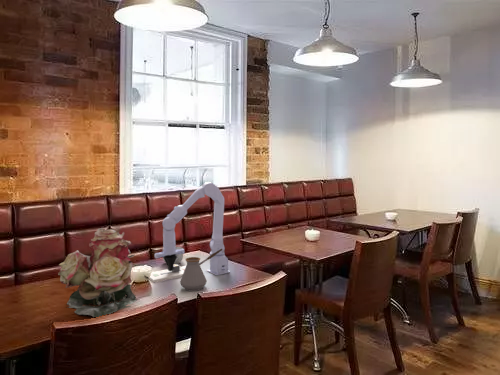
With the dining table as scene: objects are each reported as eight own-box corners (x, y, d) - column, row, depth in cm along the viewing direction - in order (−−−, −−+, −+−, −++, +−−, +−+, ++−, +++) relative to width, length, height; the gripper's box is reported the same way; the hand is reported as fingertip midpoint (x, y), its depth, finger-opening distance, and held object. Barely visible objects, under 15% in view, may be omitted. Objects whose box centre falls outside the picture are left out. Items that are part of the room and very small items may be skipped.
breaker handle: (179, 271, 197) (179, 265, 197) (174, 272, 196) (173, 266, 195) (177, 269, 200) (176, 264, 200) (171, 270, 198) (171, 265, 198)
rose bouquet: (52, 306, 158) (48, 230, 155) (122, 288, 179) (119, 220, 176) (80, 326, 140) (75, 240, 137) (154, 303, 161) (151, 227, 158)
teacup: (160, 261, 220) (160, 247, 219) (180, 259, 224) (180, 244, 224) (167, 268, 207) (166, 252, 206) (187, 265, 212) (187, 250, 211)
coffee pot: (188, 294, 169) (187, 259, 168) (175, 287, 179) (174, 253, 177) (230, 284, 182) (230, 250, 181) (217, 277, 191) (216, 246, 190)
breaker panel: (197, 273, 198) (197, 271, 198) (153, 282, 185) (153, 279, 185) (186, 267, 208) (186, 265, 207) (144, 276, 195) (144, 273, 195)
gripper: (179, 239, 202) (180, 265, 203) (151, 243, 194) (152, 271, 195) (186, 241, 196) (186, 269, 198) (157, 245, 188) (158, 274, 189)
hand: (170, 270), depth 196 cm, fingers closed
